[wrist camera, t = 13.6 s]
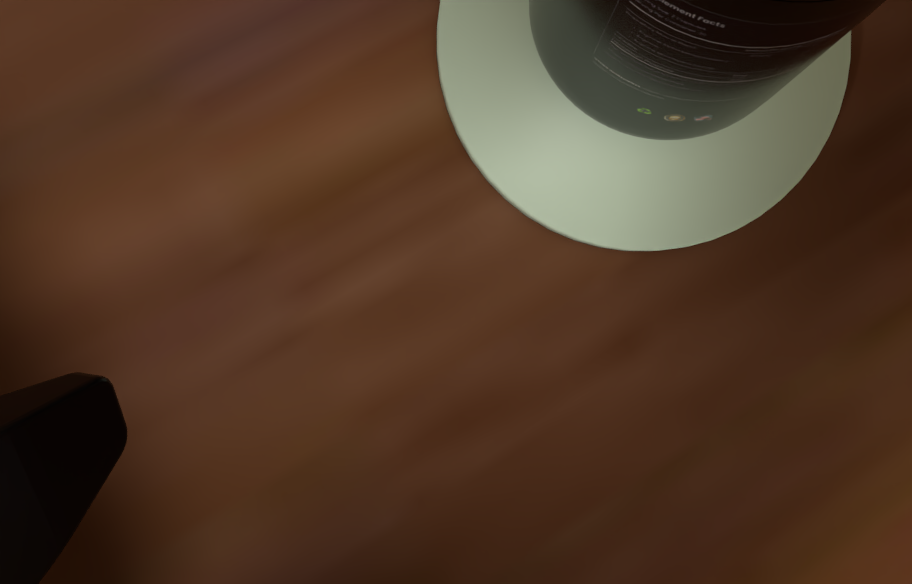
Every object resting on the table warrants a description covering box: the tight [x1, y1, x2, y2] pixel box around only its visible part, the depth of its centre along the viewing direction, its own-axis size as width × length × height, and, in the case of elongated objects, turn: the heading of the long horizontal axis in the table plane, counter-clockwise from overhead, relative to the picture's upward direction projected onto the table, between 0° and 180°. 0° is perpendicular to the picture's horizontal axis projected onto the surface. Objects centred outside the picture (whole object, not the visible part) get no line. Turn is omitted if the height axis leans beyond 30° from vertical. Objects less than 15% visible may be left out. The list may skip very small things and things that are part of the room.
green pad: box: [437, 0, 851, 251], centre depth 21 cm, size 11×11×1 cm
